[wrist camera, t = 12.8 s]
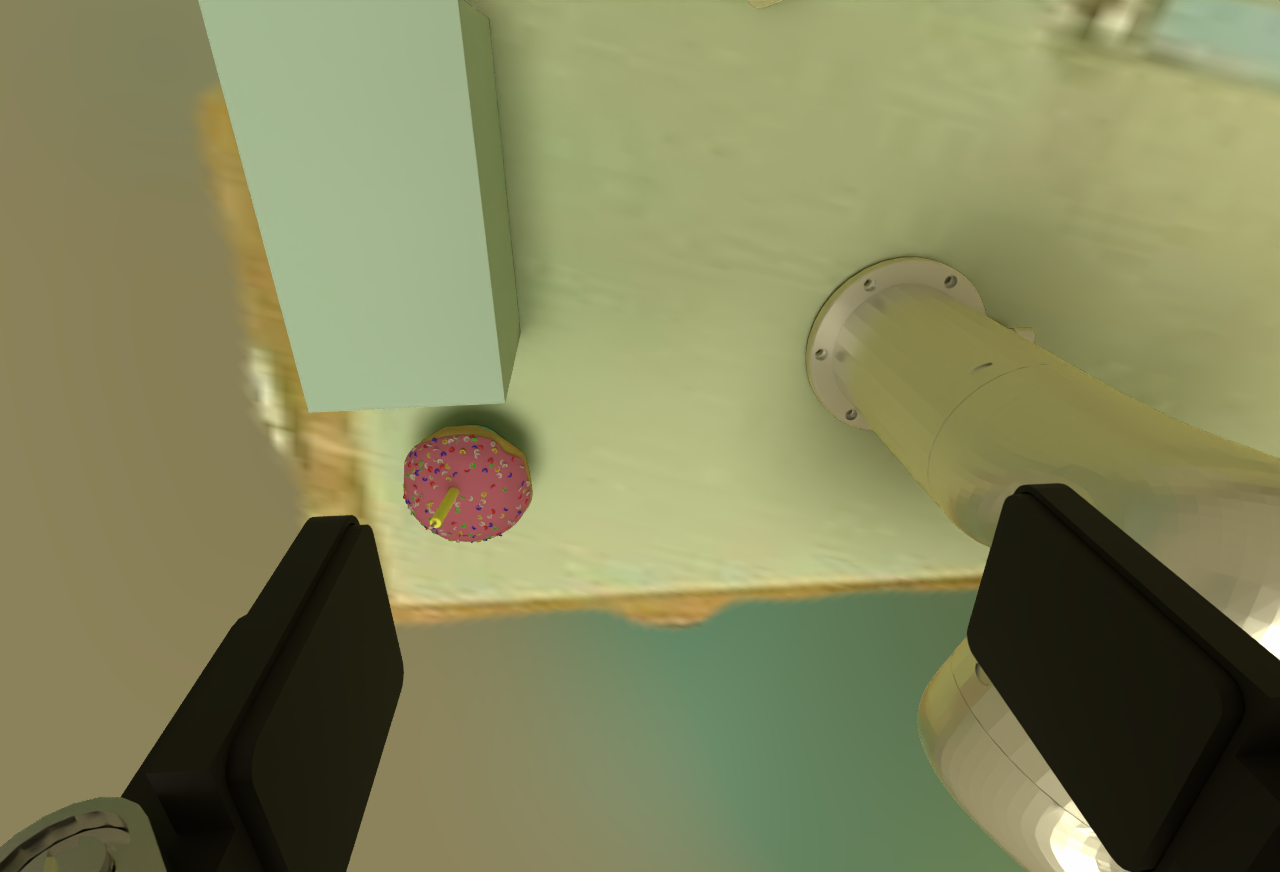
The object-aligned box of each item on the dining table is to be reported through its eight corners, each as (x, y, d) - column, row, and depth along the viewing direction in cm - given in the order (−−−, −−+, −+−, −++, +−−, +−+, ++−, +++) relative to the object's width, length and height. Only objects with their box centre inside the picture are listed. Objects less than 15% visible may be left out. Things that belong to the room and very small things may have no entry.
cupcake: (392, 430, 48) (340, 529, 37) (497, 380, 47) (474, 467, 36) (458, 519, 52) (428, 631, 41) (556, 474, 51) (551, 578, 40)
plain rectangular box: (488, 19, 37) (457, -5, 27) (520, 333, 45) (505, 403, 35) (300, 20, 36) (197, -3, 26) (368, 339, 45) (308, 412, 35)
